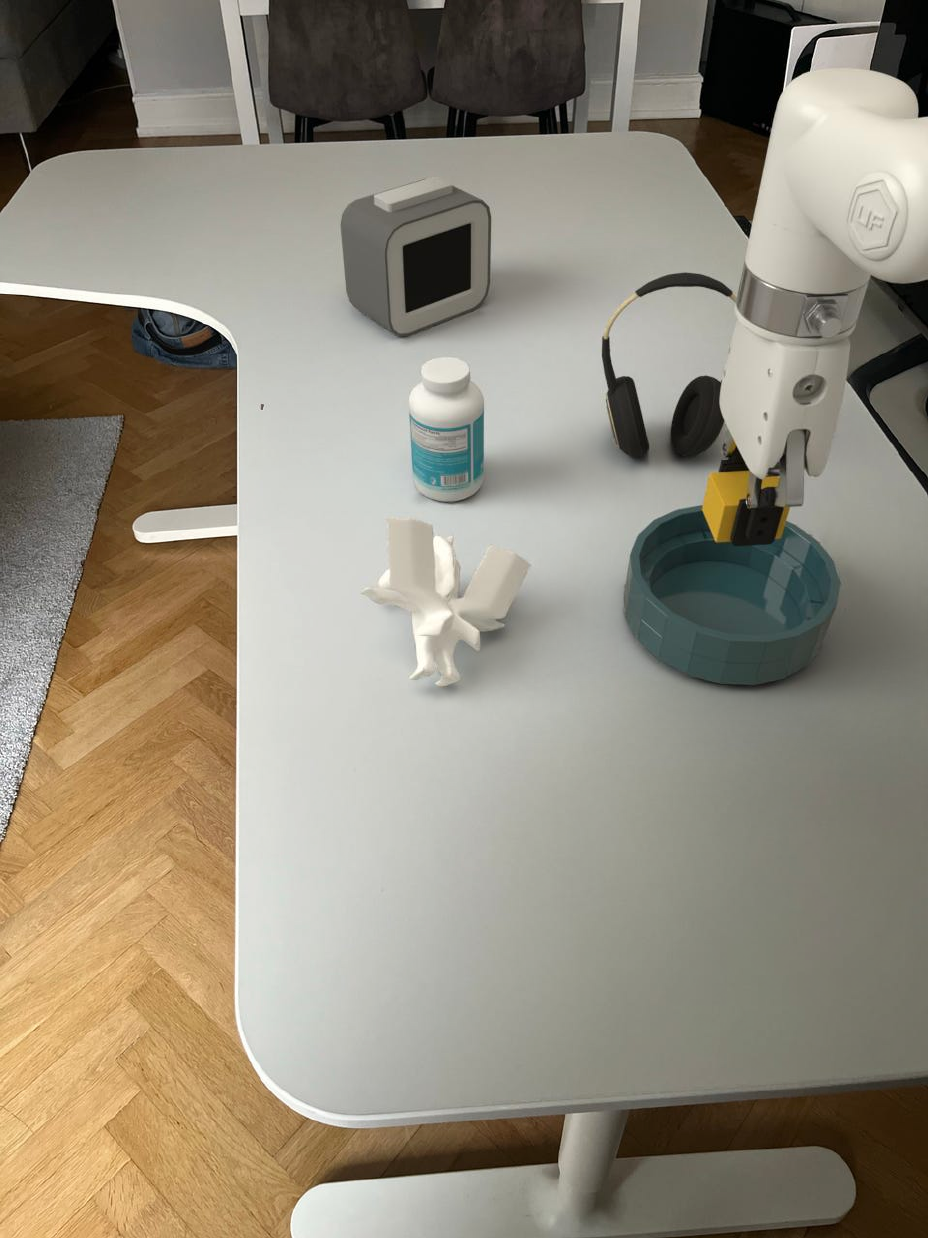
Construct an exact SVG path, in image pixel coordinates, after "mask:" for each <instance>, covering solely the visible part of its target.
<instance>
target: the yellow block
mask: <svg viewBox="0 0 928 1238" xmlns="http://www.w3.org/2000/svg"><path fill="white" fill-rule="evenodd" d="M749 473H750V471H735V472H719V471H717V472H709V475H708V479H707V484H706V488H705V493H704V498H703V502H702V505H703V507H702V511H703V513H704V515H705V518H706V520H707V523H708V525H709V527H710V530H711V532H712V535H713V537H714V539H715V542H731V540H730V537H731V533H732V529H733V525H734V521H735V517H736V513H737V509H738V505H739V500H740V499H746V492H747V486H748V479H749ZM778 482H779V476H774V477H765V479H763V480H762V485H761V489H763V488H766V487H777V486H778ZM790 509H791V507H784V509H783V513H782V516H781V520H780V523H779V527H778V530H777V534H776V537H775V539H780V538H781V536H782V533H783V530H784V526H785V523H786V521H787V519H788V516H789V512H790Z"/></svg>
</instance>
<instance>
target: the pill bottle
mask: <svg viewBox="0 0 928 1238" xmlns="http://www.w3.org/2000/svg"><path fill="white" fill-rule="evenodd" d="M420 370H421V371H420V382H418V383H417V385H416V386H414V387H413V389H412V390H411V392H410V394H409V397H408V417H409V433H410V434H409V436H410V451H411V453H410V454H411V466H412V481H413V484H414V486H415V488H416V490H418V492H419V493H420V494H421V495H423V496H425V497H426V498H429V499H430V500H434V501H438V502H457V501H461V500H465V499H467V498H469V497H472V496H473V495H475V494H476V493H477V492H478V491H479V490H480V488H481V487H482V486H483V483H484V478H485V399H484V398H485V397H484V395H483V392H482V390H481V388H480V387H479V385H477V384H476V383H475V382H473V381H472V380H471V370H470V365H469V364H468V363H467V362H466V361H465V360H462V359H461V358H457V357H453V356H452V357H451V356H440V357H436V358H433V359H430V360H428V361H426V362H425V363H424V364H423V365H422V366H421V368H420Z"/></svg>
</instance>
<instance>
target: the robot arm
mask: <svg viewBox="0 0 928 1238" xmlns="http://www.w3.org/2000/svg"><path fill="white" fill-rule="evenodd" d="M771 126H772V127H771V132H770V135H769V140H768V146H767V150H766V156H765V160H764V165H763V170H762V175H761V180H760V184H759V189H758V194H757V200H756V203H755V208H754V213H753V218H752V223H751V228H750V234H749V239H748V243H747V247H746V253H745V256H744V257H745V258H744V262H743V266H742V270H741V271H742V272H741V276H740V281H739V286H738V290H737V296H736V297H737V300H736V303H735V304H734V310H733V311H734V315H735V316H734V317H735V318H736V319H737V320H736V323H735V326H734V330H733V334H732V336H731V340H730V344H729V348H728V352H727V356H726V360H725V365H724V369H723V374H722V378H721V380H722V384H721V390H720V401H719V402H720V409H721V413H722V416H723V418H724V420H725V424H726V425H725V426H726V427H727V429H726V432H725V435H724V438H723V442H722V445H721V454H722V455H721V456H722V457H723V458H724V459H721V460H720V464H719V468H718V472H735V471H750V473H749V479H748V486H747V492H746V499H740V500H739V505H738V509H737V513H736V517H735V521H734V525H733V529H732V533H731V537H730V540H731V543H732V545H733V546H752V545H768V544H772V543H773V542H774V540H775V537H776V534H777V530H778V527H779V523H780V520H781V516H782V513H783V509H784V507H790V508H793V507H794V508H795V507H802V506H803V505H804V500H805V471H806V474H807V475H808V477H814V478H817V477H820V476H821V475H822V474H823V472H824V470H825V468H826V466H827V463H828V459H829V455H830V452H831V448H832V445H833V442H834V437H835V434H836V429H837V425H838V420H839V417H840V413H841V408H842V403H843V399H844V395H845V389H846V383H847V379H848V377H847V376H848V371H849V370H848V368H849V362H850V351H851V341H850V338H849V336H850V335H851V334H853V332H854V330H855V329H856V327H857V326H856V325H857V323H858V319H859V315H860V312H861V309H862V305H863V302H864V299H865V296H866V292H867V289H868V286H869V283H870V279H871V277H874V278H876V279H878V280H880V281H884V282H888V283H891V284H902V285H903V284H911V283H912V284H913V283H918V282H922V281H926V280H927V281H928V116H922V117H919V103H918V98H917V96H916V94H915V92H914V91H913V89H912V88H911V87H910V86H909V85H908V84H907V83H906V82H904V81H902V80H900V79H898V78H896V77H894V76H892V75H889V74H886V73H883V72H880V71H876V70H871V69H865V68H856V67H827V68H820V69H815V70H811V71H807V72H804V73H802V74H801V75H798V76H797V77H795V78H794V79H792V80H791V81H790V82H789V84H788V85H786V87H785V88H784V89H783V91H782V92H781V94H780V96H779V99H778V101H777V104H776V109H775V112H774V117H773V121H772V125H771ZM774 476H778V477H779V482H778V486H777V487H766V488H763V489H761V485H762V480H763V479H765V477H774Z"/></svg>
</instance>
